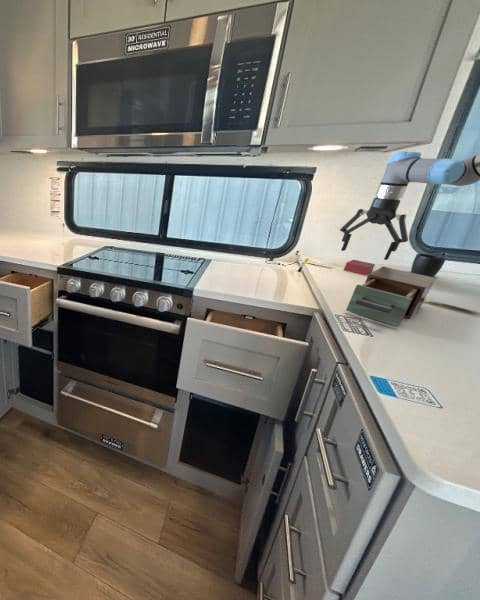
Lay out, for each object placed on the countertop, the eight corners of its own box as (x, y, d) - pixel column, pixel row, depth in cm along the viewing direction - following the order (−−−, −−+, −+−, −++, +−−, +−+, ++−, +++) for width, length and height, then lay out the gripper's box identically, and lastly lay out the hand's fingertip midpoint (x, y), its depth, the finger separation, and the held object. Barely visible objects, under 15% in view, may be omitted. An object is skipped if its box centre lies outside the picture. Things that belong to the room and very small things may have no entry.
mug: (435, 278, 133) (447, 256, 130) (433, 284, 126) (445, 260, 122) (408, 273, 139) (419, 251, 135) (404, 278, 131) (415, 255, 128)
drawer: (392, 332, 82) (406, 303, 79) (339, 314, 90) (350, 288, 87) (410, 313, 94) (422, 288, 91) (361, 299, 103) (372, 276, 99)
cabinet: (409, 319, 93) (425, 287, 89) (356, 303, 102) (368, 274, 98) (420, 306, 103) (435, 277, 99) (370, 293, 112) (382, 266, 108)
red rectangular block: (369, 276, 131) (374, 264, 129) (363, 279, 126) (368, 267, 124) (348, 271, 136) (353, 259, 134) (341, 274, 131) (346, 262, 129)
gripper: (343, 193, 126) (323, 247, 135) (433, 203, 108) (403, 264, 117) (350, 193, 130) (330, 246, 139) (436, 202, 113) (408, 262, 121)
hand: (363, 254), depth 128 cm, fingers open, 13 cm apart
